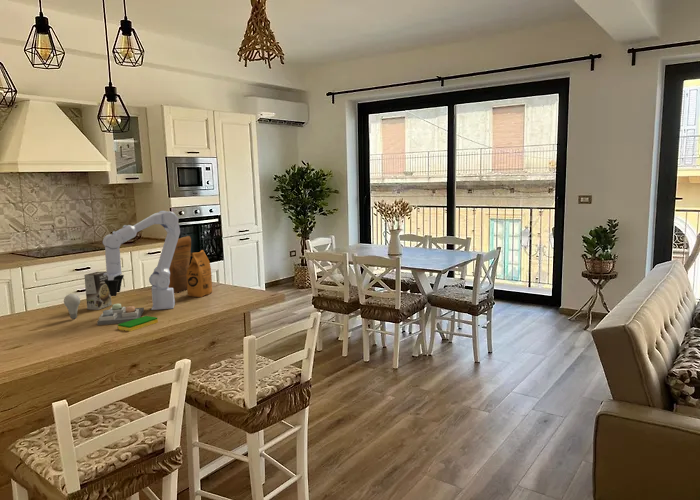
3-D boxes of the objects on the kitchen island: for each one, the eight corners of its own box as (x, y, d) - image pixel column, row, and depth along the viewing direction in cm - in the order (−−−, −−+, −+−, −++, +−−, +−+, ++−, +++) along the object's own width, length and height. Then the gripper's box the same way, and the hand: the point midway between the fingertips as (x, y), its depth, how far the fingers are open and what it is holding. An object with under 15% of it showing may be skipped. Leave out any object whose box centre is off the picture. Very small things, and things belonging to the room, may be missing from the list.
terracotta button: (135, 310, 216) (135, 305, 215) (134, 312, 212) (133, 307, 212) (126, 311, 215) (126, 306, 215) (125, 313, 211) (124, 308, 211)
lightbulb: (85, 317, 216) (82, 292, 214) (73, 321, 210) (70, 295, 209) (74, 316, 218) (71, 291, 216) (62, 320, 212) (59, 295, 211)
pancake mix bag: (198, 287, 273) (195, 235, 269) (173, 294, 256) (169, 239, 252) (188, 286, 276) (185, 235, 272) (163, 294, 259) (159, 239, 255)
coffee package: (184, 296, 251) (181, 253, 248) (198, 291, 263) (195, 249, 260) (201, 297, 248) (198, 253, 245) (215, 292, 260) (212, 249, 257)
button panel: (143, 310, 226) (143, 304, 225) (137, 321, 208) (136, 314, 208) (107, 313, 222) (106, 306, 222) (97, 325, 205) (96, 318, 204)
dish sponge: (117, 330, 199) (117, 324, 198) (146, 321, 211) (145, 315, 210) (130, 332, 195) (129, 326, 195) (158, 323, 208) (158, 317, 207)
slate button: (113, 314, 210) (113, 309, 210) (111, 316, 207) (111, 311, 207) (104, 314, 210) (103, 310, 209) (102, 317, 206) (101, 312, 206)
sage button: (122, 307, 220) (121, 303, 220) (120, 309, 217) (120, 305, 217) (113, 308, 220) (112, 304, 219) (111, 310, 216) (111, 306, 216)
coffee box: (99, 310, 229) (96, 274, 227) (86, 309, 230) (83, 274, 228) (112, 305, 238) (109, 271, 235) (100, 304, 239) (97, 270, 237)
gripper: (106, 260, 222) (109, 290, 223) (99, 265, 208) (101, 298, 209) (124, 259, 223) (126, 290, 225) (117, 264, 209) (119, 297, 211)
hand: (115, 293), depth 217 cm, fingers open, 7 cm apart
